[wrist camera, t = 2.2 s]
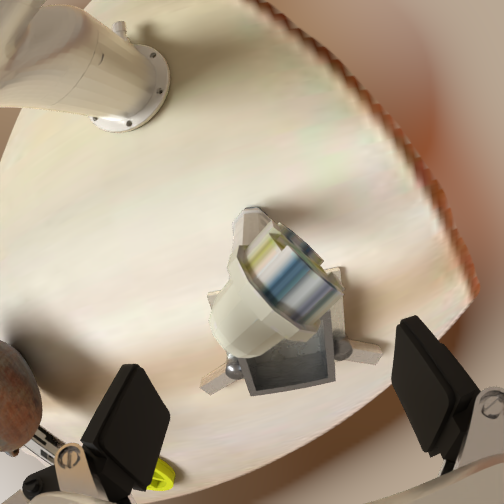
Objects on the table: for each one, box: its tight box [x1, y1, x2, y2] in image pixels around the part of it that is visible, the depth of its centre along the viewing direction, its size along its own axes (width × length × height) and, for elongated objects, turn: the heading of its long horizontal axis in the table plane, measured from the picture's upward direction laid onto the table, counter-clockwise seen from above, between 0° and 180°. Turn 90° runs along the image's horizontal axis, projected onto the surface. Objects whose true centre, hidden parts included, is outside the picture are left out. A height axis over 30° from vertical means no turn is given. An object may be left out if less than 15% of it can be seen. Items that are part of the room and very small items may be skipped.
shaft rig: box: [200, 267, 383, 396], centre depth 37 cm, size 18×30×7 cm, turn 102°
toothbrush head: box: [209, 207, 345, 358], centre depth 23 cm, size 5×7×25 cm
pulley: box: [147, 458, 175, 491], centre depth 56 cm, size 28×28×5 cm
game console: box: [24, 427, 58, 465], centre depth 56 cm, size 21×32×8 cm, turn 54°
